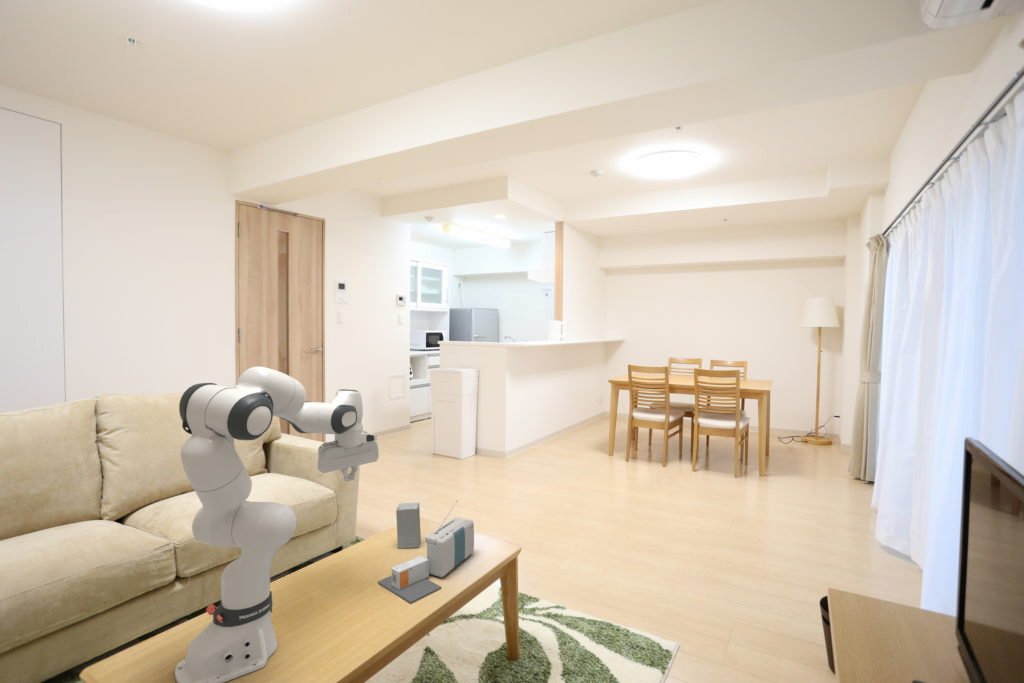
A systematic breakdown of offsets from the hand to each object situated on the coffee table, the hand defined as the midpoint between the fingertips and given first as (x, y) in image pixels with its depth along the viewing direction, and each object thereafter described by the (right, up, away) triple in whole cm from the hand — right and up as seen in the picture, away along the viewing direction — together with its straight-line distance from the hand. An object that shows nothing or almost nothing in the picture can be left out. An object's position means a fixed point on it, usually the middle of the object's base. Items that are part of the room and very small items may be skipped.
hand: (349, 480), depth 162 cm
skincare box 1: (+13, -34, +29) cm, 46 cm away
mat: (+20, -34, -1) cm, 40 cm away
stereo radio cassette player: (+31, -34, +14) cm, 48 cm away
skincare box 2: (+16, -31, -4) cm, 35 cm away
